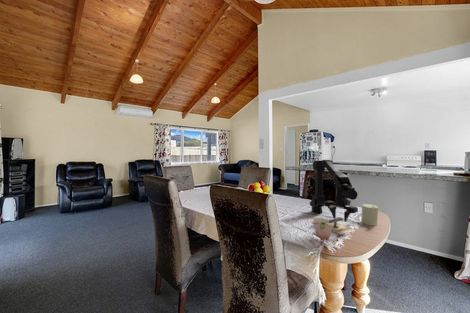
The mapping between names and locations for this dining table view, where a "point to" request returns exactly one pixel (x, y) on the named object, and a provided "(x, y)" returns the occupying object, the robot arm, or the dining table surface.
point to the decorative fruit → (323, 231)
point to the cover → (321, 219)
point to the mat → (298, 228)
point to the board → (338, 229)
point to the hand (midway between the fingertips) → (339, 220)
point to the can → (369, 214)
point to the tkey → (336, 221)
